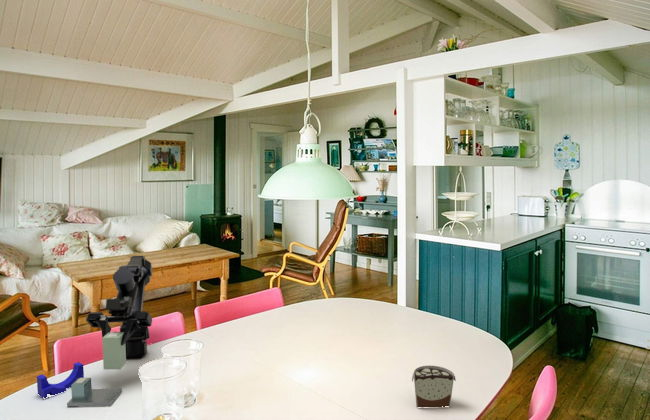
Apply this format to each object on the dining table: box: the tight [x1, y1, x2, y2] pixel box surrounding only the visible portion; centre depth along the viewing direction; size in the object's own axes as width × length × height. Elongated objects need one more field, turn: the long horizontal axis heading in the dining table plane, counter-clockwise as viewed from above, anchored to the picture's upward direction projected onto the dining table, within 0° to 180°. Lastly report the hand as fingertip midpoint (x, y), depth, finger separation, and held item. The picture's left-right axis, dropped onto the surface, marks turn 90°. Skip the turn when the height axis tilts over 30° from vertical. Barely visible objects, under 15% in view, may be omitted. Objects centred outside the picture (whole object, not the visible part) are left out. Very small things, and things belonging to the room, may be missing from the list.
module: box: [101, 331, 127, 371], centre depth 136 cm, size 5×4×10 cm
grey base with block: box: [66, 377, 123, 407], centre depth 129 cm, size 12×8×6 cm, turn 93°
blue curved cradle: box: [36, 361, 85, 398], centre depth 135 cm, size 12×4×6 cm, turn 144°
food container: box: [411, 365, 457, 408], centre depth 127 cm, size 12×6×10 cm, turn 92°
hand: (112, 345), depth 135 cm, fingers closed on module, 5 cm apart
